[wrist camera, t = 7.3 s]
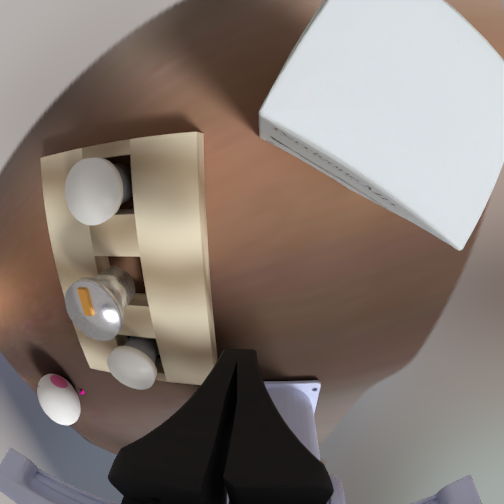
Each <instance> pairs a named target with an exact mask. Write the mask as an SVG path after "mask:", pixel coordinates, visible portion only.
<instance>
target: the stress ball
mask: <svg viewBox="0 0 504 504" xmlns="http://www.w3.org/2000/svg"><path fill="white" fill-rule="evenodd" d="M37 393H38V399H39V402H40V405H41V407H42V408H43V410H44V412H45V413H46V414H47V415H48V416H49V417H50V418H51V419H52V420H53V421H55V422H57V423H59V424H62V425H71V424H73V423H75V422H76V421H77V420H78V418H79V415H80V401H79V398H78V395H79V394H78V395H77V393H76V391H75V390H74V388H73V387H72V385H71V384H70V383H69V382H68V381H67V380H66V379H64V378H63V377H61V376H59V375H57V374H47V375H45V376H43V377H42V378H41V379H40V381H39V383H38V388H37ZM80 394H85V393H84V390H82V391H81V393H80Z"/></svg>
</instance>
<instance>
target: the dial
mask: <svg viewBox="0 0 504 504" xmlns="http://www.w3.org/2000/svg"><path fill="white" fill-rule="evenodd" d="M134 295H135V284H134V281H133V279H132V277H131V276H130V275H129V274H128V272H126V271H125V270H124V269H122V268H120V267H117V266H109V267H107V268H105V269H104V270H103V271H102V272H101V273H99V274H98V275H97V276H96V277H95V278H93V277H83V278H80V279H79V280H77V281H76V282H75V283H74V284H72V285H71V286H70V287H69V288H68V290H67V292H66V295H65V306H66V310H67V312H68V315H69V317H70V319H71V320H72V322H73V323H74V324H75V326H76V327H77V328H78V329H79V330H80V331H81V332H83V333H84V334H85V335H87V336H88V337H90V338H92V339H95V340H99V341H108V340H111V339H113V338H114V337H115V336H116V335H117V334H118V332H119V331H120V329H121V328H122V326H123V324H124V321H125V313H124V309H125V308H126V306H127V305H128V304H129V303H130V301H131V300H132V299H133V297H134Z"/></svg>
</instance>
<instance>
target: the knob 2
mask: <svg viewBox="0 0 504 504" xmlns="http://www.w3.org/2000/svg"><path fill="white" fill-rule="evenodd" d="M158 354H159V350H158V345H157V341H156V339H155V338H145V337H136V336H130V337H129V339H128V340H127V342H126V344H125V345H124V346H118V347H116V348H114V349H113V351H112V352H111V354H110V355H109V357H108V359H107V365H108V368H109V370H110V372H111V373H112V375H113V376H114V377H115V378H116V379H117V380H118V381H120V382H121V383H123V384H124V385H126V386H128V387H131V388H134V389H148V388H150V387H151V386H152V385H153V383H154V381H155V378H156V376H157V369H156V366H155V364H154V363H155V361H156V359H157V357H158Z"/></svg>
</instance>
